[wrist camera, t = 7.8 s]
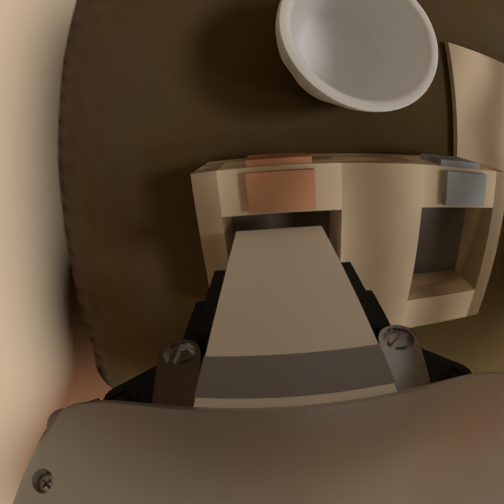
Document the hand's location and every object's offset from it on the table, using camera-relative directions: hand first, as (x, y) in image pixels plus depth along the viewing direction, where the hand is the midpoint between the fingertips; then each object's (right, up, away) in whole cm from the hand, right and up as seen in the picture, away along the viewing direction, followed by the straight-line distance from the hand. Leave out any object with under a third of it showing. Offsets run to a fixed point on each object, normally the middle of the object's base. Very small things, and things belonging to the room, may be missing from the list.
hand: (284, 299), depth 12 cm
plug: (0, +1, +2) cm, 3 cm away
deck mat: (+17, +12, +2) cm, 21 cm away
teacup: (+4, +15, +1) cm, 15 cm away
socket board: (+5, +3, +6) cm, 9 cm away
